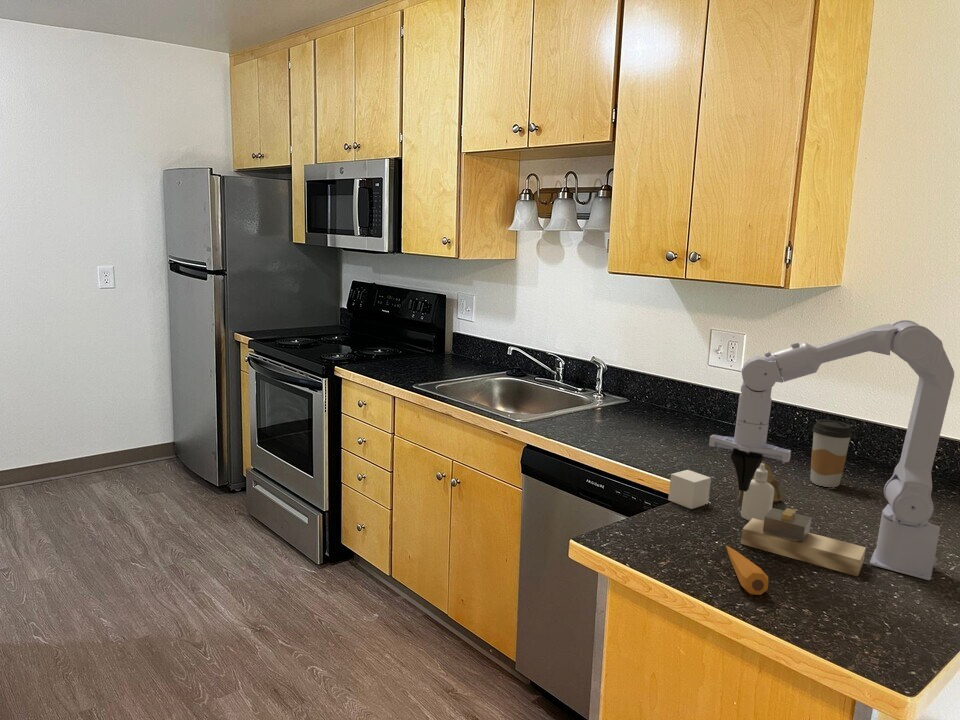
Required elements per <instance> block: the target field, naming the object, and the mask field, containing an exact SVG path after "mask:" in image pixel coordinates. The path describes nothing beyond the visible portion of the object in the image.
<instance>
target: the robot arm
mask: <svg viewBox="0 0 960 720" xmlns="http://www.w3.org/2000/svg"><path fill="white" fill-rule="evenodd" d="M867 352H870V353H871V352H872V353H875V354H881V355H886V356H891V352H892V353H893V354H895V355H896V356H898V357H899V359H901V360H903V361H904V362H905V363H907V364H908V366H909V367H910V368H911V369H912V370H913V372H915V374H916V375H917V376H918V382H917V386H916V389H915V390H916V391H915V394H914V398H913V403H912V407H911V412H910V416H909V421H908V423H907V424H908V425H907V429H906V434H905V438H904V442H903V444H902V445H903V446H902V451H901V454H900V459H899V461H898V463H897V465H896V466H895V467H894V470H893V474H892V475H891V477H890V479H888V480H887V482H886V483H885V485H884V488H883V495H884V497H885V499H886V501H887V502H888V503H887V505H886V506H885V507H884V508H883V509H882V511H881V515H880V517H881V518H880V522H879V523H880V524H879V530H878V534H877V535H878V536H877V542H876V548H875V549H874V551H873V553H872V555H871V558H870V560H869V565H871V566H874V567H879V568H881V569H885V570H889V571H893V572H897V573H900V574H902V575H903V574H904V575H908V576H911V577H915V578H918V579H922V580H924V581H931V580H932V575H933V570H934V568H936V566H937V561H938V557H936V554H937V553H936V552H937V548H938V542H939V536H940V532H941V531H940V530H941V527H940V526H939V525H937V524H933V523H930V522H929V520H930V518H931V517H932V515H933V513H934V507H935V506H934V503H933V500H932V491H933V480H932V470H933V466H934V462H935V458H936V457H935V456H936V453H937V449H938V444H939V440H940V437H941V433H942V429H943V423H944V421H945V420H944V419H945V416H946V412H947V409H948V408H947V407H948V403H949V399H950V395H951V391H952V387H953V383H954V379H955V370H954V368H953V366H952V364H951V361H950V359H949V357H948V355H947V353H946V350H945V348H944V343H943V341H942V340H941V339H940V338H939V337H938V336H937V335H936V334H935V333H934V332H933V331H932V330H930V329H929V328H927V327H926V326H923V325H920V324H918V323H916V322H915V321H912V320H907V319H906V320H905V319H904V320H899V321H895V322H893V323H885V324H880V325H877V326H873V327H870V328H866V329H864V330H860V331H858V332H854V333H852V334H848V335H846V336H843V337H840V338H837V339H834V340H832V341H828V342H824V343H823V344H819V345H818V346H817V345H816V346H814V345H811V344H809V343H808V342H803V343H799V341H795V342H792V343H790V347H787V348H783V349H781V350H778V351H774V352H771V351H770V350H767V351H766V352H764V356H752V357H750V358H748V359H747V360H746V362H744V364H743V366H742V368H741V376H742V377H741V378H742V384H741V386H740V394H739V396H738V404H737V405H738V406H737V410H736V411H737V412H736V421H735V429H734V436H724V435H719V434H712V435H710V436H709V441H708V442H709V443H708V446H709V447H712V448H715V447H718V448H722V449H727V450H731V451H732V453H731V455H730V458H731V462H732V463H733V466H734V469H735V471H736V476H737V477H736V478H737V483H738V485H737V486H738V490H739V491H740V490H741V491H745V492H746V491H747V490H748V489H749V486H750V483H751V480H752V478H753V476H754V474H755V472H756V470H757V468H758V467H759V465H760V463H761V462H762V461H763V460H764V459H765V458H770V459H774V460H777V461H778V460H779V461H781V462H782V463H788V462H790V460H791V455H792V454H791V453H792V450H790V449H786V448H784V447H783V448H782V447H779V446H776V445H773V444H769V443H767V440H768V439H767V438H768V431H769V424H770V423H769V422H770V416H771V408H772V402H773V401H772V400H773V399H772V397H771V396H772V395H771V394H772V389H773V387H774V385H775V384H776V383H781V384H782V383H786V382H789V381H792V380H796V379H799V378H802V377H805V376H809V375H813V374H816V373H817V372H818V370H819V368H820V366H821V365H822V364H825V363H829V362H833V361H837V360H840V359H844V358H848V357H851V356H856V355H859V354H863V353H867ZM763 462H764V461H763Z"/></svg>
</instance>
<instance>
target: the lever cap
mask: <svg viewBox="0 0 960 720" xmlns="http://www.w3.org/2000/svg"><path fill="white" fill-rule="evenodd" d="M796 512H797V510H796V509H793V508H788V507H786V508H785V509H783V510H782V509H779V508H775V507H772V509H771V510H770V511H769V512H768V514H767V515H766V516H765V518H764V526H763V531H765V532H768V533H772V534H776V535H780V536H783V537H787V538H791V539H795V540H798V541H802V542H803V541H804V539H805V538H806V536H807V535H808V533H811V532H810V530H811V526H812V525H811V523H812V517H811V516H807V515H803V514H799V513H796Z"/></svg>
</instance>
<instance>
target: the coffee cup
mask: <svg viewBox="0 0 960 720" xmlns="http://www.w3.org/2000/svg"><path fill="white" fill-rule="evenodd" d="M812 431H813V434H812V435H813V437H812V448H811V458H810V476H809V479H810V482H811V481H812V483H814V484H816V485H819V486H824V487H837V486H838V487H839V486H840V483H841V479H842V476H843V473H844V468H845V464H846V459H847V454H848V449H849V444H850V441H851V438H852V432H853V431H852V429H851V425H850V424H848V423H846V422H842V421H838V420H832V419H818V420H816V422H815V424H814V425H813V429H812ZM812 483H811V484H812ZM814 484H813V485H814ZM816 485H815V486H816ZM819 486H818V487H819ZM838 487H837V488H838Z"/></svg>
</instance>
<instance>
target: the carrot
mask: <svg viewBox="0 0 960 720" xmlns="http://www.w3.org/2000/svg"><path fill="white" fill-rule="evenodd" d="M725 548H726V552H727V555H728V557H729V561H730V564H731V565H732V568H733V570H734V572H735V574H736V576H737V577H736V578H737V579H738V581H739V583H740V586H741V587H742V588H743V589H744V590H745V591H746V592H747V593H748V594H749V595H756V596H758V595H759V596H762V595H763V594H764V593H765V592H767V591H768V589H769V576H768V575H767V574H766V573H765V571H764V570H762V568H761V567H759V566H758V565H756V564H755V563H754V562H752V561H751V560H749V559H748V558H747V557H745V556H744V555H743V554H741V553H740V552H738V551H737V550H735V549H733V548H732V547H730V546H728V545H725Z"/></svg>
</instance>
